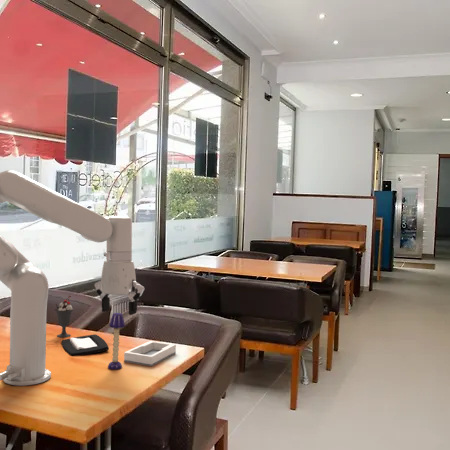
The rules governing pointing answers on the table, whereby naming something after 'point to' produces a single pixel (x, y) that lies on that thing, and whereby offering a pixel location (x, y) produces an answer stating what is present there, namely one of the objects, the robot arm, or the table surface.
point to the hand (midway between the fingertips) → (119, 312)
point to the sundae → (64, 316)
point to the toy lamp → (116, 339)
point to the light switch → (84, 345)
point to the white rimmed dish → (149, 353)
